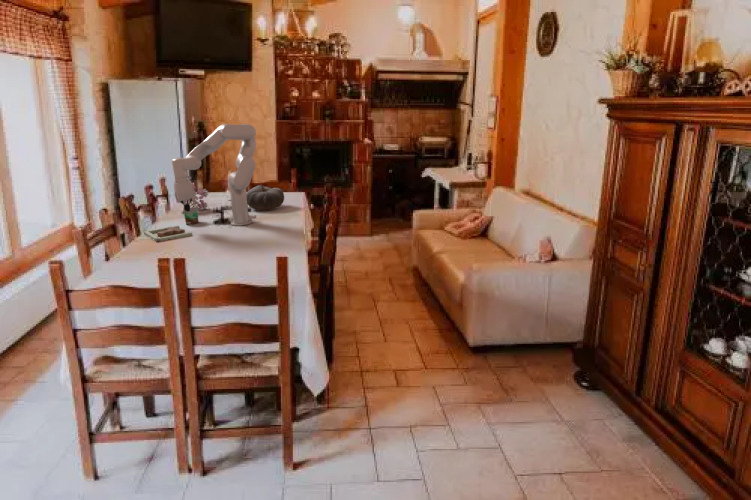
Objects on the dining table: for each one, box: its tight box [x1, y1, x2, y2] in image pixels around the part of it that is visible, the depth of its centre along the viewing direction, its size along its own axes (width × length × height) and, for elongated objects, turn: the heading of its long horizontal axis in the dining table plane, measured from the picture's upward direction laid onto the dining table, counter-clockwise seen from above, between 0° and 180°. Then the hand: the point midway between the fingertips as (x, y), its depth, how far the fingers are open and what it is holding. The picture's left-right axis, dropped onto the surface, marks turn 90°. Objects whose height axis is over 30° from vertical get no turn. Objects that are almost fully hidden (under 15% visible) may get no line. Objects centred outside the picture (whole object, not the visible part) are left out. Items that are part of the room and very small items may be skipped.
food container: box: [182, 204, 200, 226], centre depth 339 cm, size 12×6×10 cm, turn 168°
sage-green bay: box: [143, 224, 193, 242], centre depth 314 cm, size 20×23×2 cm
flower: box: [173, 180, 210, 214], centre depth 370 cm, size 20×22×24 cm
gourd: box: [246, 184, 285, 212], centre depth 372 cm, size 25×25×17 cm
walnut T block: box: [156, 226, 186, 238], centre depth 312 cm, size 12×13×3 cm
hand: (187, 210), depth 318 cm, fingers closed
